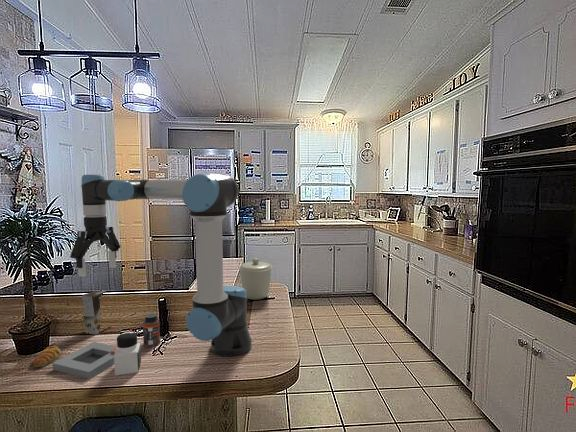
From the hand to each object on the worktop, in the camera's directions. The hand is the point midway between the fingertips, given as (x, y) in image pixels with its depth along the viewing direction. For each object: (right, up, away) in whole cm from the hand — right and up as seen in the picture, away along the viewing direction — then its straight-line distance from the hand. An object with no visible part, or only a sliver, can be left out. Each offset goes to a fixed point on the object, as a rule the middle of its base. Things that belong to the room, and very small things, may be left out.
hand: (98, 271), depth 132 cm
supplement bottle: (+20, -28, +2) cm, 35 cm away
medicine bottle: (+19, -30, -16) cm, 39 cm away
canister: (+55, -23, +56) cm, 81 cm away
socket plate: (+4, -29, -12) cm, 32 cm away
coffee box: (-7, -27, +14) cm, 31 cm away
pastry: (-12, -30, -10) cm, 34 cm away
